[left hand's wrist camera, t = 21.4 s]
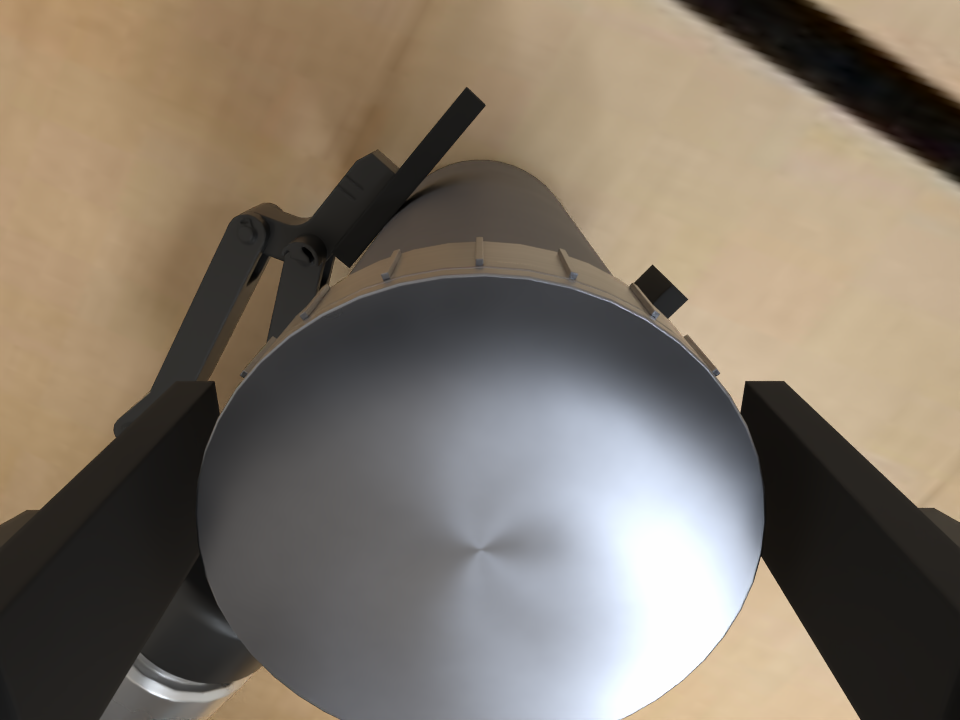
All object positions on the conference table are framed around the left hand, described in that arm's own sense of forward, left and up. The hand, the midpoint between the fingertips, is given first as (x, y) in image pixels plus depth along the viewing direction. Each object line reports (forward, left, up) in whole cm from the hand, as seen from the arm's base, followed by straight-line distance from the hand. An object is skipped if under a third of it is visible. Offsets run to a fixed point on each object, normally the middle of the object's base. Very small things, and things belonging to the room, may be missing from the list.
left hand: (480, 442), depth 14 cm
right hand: (-4, -2, -10) cm, 11 cm away
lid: (0, 0, +3) cm, 3 cm away
